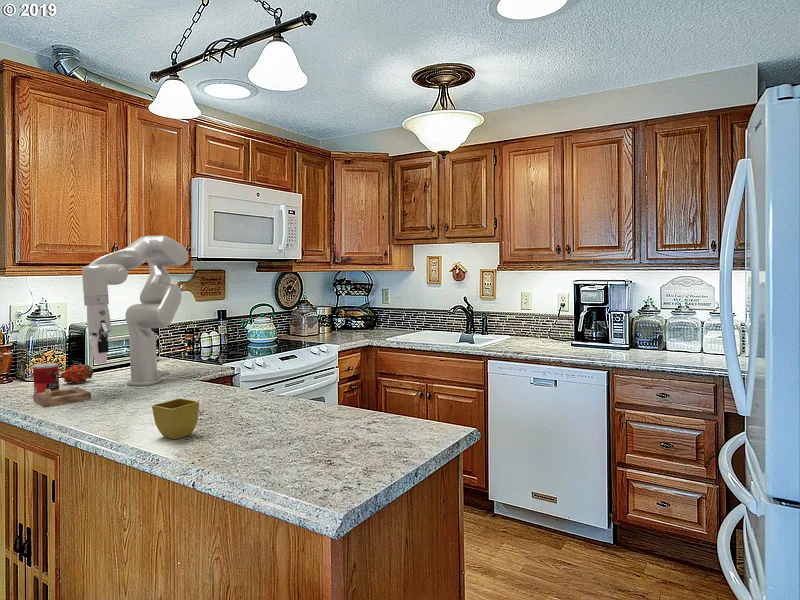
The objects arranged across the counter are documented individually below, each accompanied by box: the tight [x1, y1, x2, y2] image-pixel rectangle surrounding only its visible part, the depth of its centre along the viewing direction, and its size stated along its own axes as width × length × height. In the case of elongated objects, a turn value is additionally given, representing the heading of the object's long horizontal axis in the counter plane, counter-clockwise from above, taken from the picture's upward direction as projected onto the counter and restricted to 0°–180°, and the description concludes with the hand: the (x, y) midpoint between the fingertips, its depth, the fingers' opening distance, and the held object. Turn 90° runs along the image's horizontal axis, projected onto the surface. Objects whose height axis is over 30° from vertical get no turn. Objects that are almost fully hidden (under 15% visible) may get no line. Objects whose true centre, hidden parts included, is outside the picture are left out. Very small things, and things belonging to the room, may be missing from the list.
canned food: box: [32, 362, 60, 394], centre depth 199 cm, size 8×8×11 cm
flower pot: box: [151, 398, 200, 440], centre depth 146 cm, size 9×9×9 cm
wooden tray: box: [33, 386, 92, 408], centre depth 189 cm, size 14×14×6 cm
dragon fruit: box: [59, 362, 94, 384], centre depth 219 cm, size 8×8×12 cm
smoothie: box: [88, 334, 110, 365], centre depth 192 cm, size 6×6×14 cm
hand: (100, 350), depth 192 cm, fingers closed on smoothie, 6 cm apart
